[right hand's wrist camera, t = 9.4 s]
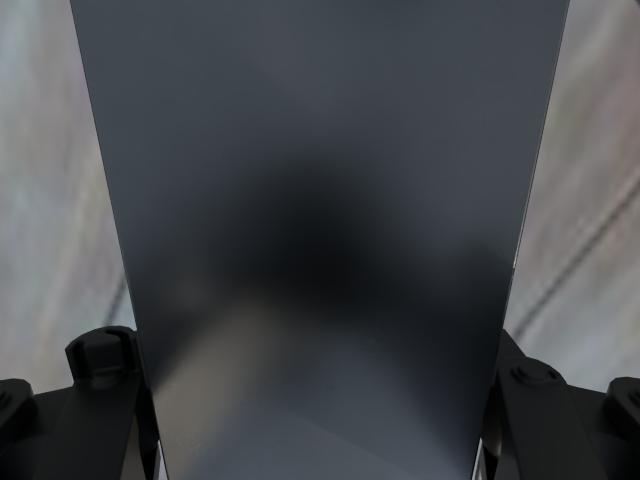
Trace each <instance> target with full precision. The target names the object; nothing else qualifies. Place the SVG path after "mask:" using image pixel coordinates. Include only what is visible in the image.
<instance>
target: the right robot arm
mask: <svg viewBox="0 0 640 480" xmlns="http://www.w3.org/2000/svg"><path fill="white" fill-rule="evenodd" d="M65 352H66V356H67V359H68V362H69V366H70V369H71V373H72V376H73V380H74V384H73V386H71V387H68V388H64V389H59V390H55V391H50V392H45V393H41V394H36V395H34V394H33V391H32V388H31V385H30V384H29V383H28V382H27V381H25V380H23V379H14V378H13V379H6V380H0V480H158V478H159V468H160V459H161V457H160V450H159V445H158V441H159V435H158V430H157V425H156V420H155V415H154V410H153V406H152V401H151V396H150V391H149V386H148V381H147V376H146V371H145V366H144V361H143V357H142V352H141V347H140V342H139V337H138V332H137V331H133V330H132V329H131V328H129V327H124V326H107V327H102V328H98V329H94V330H92V331H90V332H87V333H85V334H82V335H81V336H79V337H78V338H76V339H75V340H73V341H72V342H71V343H70V344H69V345H68V346H67V347H66V348H65ZM481 439H482V445H481V450H480V455H479V459H478V464H477V469H476V474H475V480H480V478H481V477H482V480H640V379H639V378H632V377H620V378H615V379H614V380H613V381H611V382H610V384H609V387H608V390H607V393H602V392H598V391H593V390H588V389H584V388H579V387H575V386H571V385H567V383H566V381H565V380H564V378H563V377H562V376H561V374H560V373H559V372H558V371H556V370H555V369H554V368H552V367H551V366H550V365H547V364H545V363H543V362H541V361H539V360H537V359H533V358H529V357H526V356H525V354H524V353H523V352H522V351H521V349H520V348H519V347H518V346H517V344H516V343H515V342H514V340H513V339H512V338H511V337H510V335H509V334H508V333H507V332H506V330H505V329H502V334H501V339H500V344H499V349H498V354H497V359H496V363H495V368H494V373H493V378H492V383H491V388H490V393H489V398H488V403H487V407H486V412H485V417H484V422H483V427H482V432H481Z"/></svg>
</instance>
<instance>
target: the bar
mask: <svg viewBox="0 0 640 480" xmlns="http://www.w3.org/2000/svg"><path fill="white" fill-rule="evenodd" d="M569 2H570V0H70V4H71V8H72V13H73V18H74V23H75V28H76V33H77V38H78V43H79V48H80V53H81V57H82V62H83V67H84V72H85V77H86V82H87V87H88V92H89V97H90V102H91V107H92V111H93V116H94V121H95V126H96V131H97V136H98V141H99V146H100V151H101V156H102V160H103V165H104V170H105V175H106V180H107V185H108V190H109V195H110V200H111V205H112V209H113V214H114V219H115V224H116V229H117V234H118V239H119V244H120V249H121V254H122V258H123V263H124V268H125V273H126V278H127V283H128V288H129V293H130V298H131V303H132V308H133V312H134V317H135V322H136V327H137V332H138V337H139V342H140V347H141V352H142V357H143V361H144V366H145V371H146V376H147V381H148V386H149V391H150V396H151V401H152V406H153V410H154V415H155V420H156V425H157V430H158V435H159V440H160V445H161V450H162V455H163V459H164V464H165V469H166V474H167V479H168V480H472V476H473V471H474V466H475V461H476V456H477V451H478V447H479V442H480V437H481V432H482V427H483V422H484V417H485V412H486V407H487V403H488V398H489V393H490V388H491V383H492V378H493V373H494V368H495V363H496V359H497V354H498V349H499V344H500V339H501V334H502V329H503V324H504V320H505V315H506V310H507V305H508V300H509V295H510V290H511V285H512V280H513V276H514V271H515V266H516V261H517V256H518V251H519V246H520V241H521V236H522V232H523V227H524V222H525V217H526V212H527V207H528V202H529V197H530V192H531V188H532V183H533V178H534V173H535V168H536V163H537V158H538V153H539V149H540V144H541V139H542V134H543V129H544V124H545V119H546V114H547V109H548V105H549V100H550V95H551V90H552V85H553V80H554V75H555V70H556V65H557V61H558V56H559V51H560V46H561V41H562V36H563V31H564V26H565V21H566V17H567V12H568V7H569Z"/></svg>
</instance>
